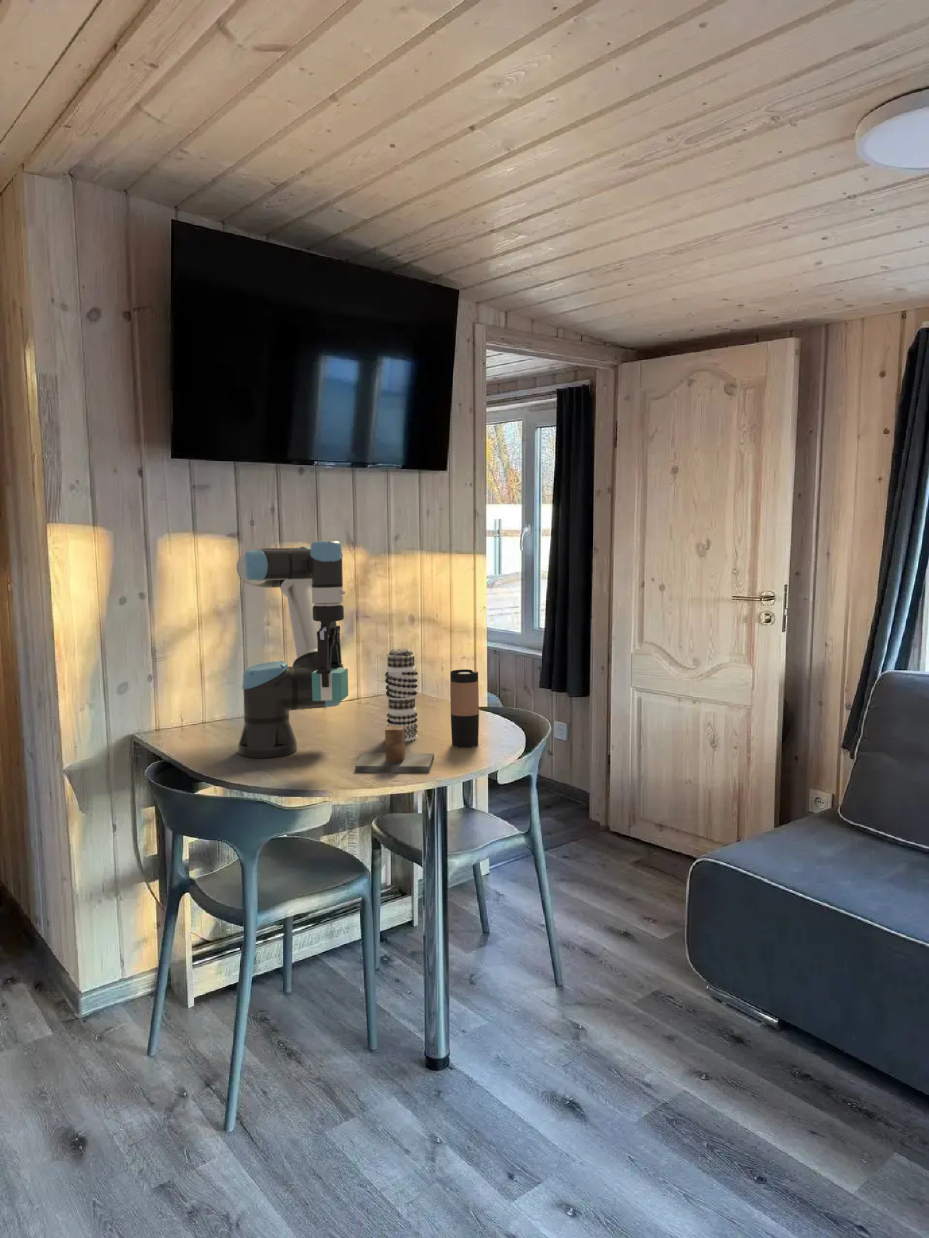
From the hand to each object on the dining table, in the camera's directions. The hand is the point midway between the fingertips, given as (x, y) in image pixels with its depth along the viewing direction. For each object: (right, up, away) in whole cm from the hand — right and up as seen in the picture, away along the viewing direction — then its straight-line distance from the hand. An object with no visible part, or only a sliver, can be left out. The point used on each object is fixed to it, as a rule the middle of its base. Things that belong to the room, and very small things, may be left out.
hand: (330, 696), depth 212 cm
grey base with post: (+16, -17, +1) cm, 23 cm away
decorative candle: (+16, -14, +29) cm, 36 cm away
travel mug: (+33, -15, +21) cm, 42 cm away
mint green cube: (0, 0, 0) cm, 0 cm away
